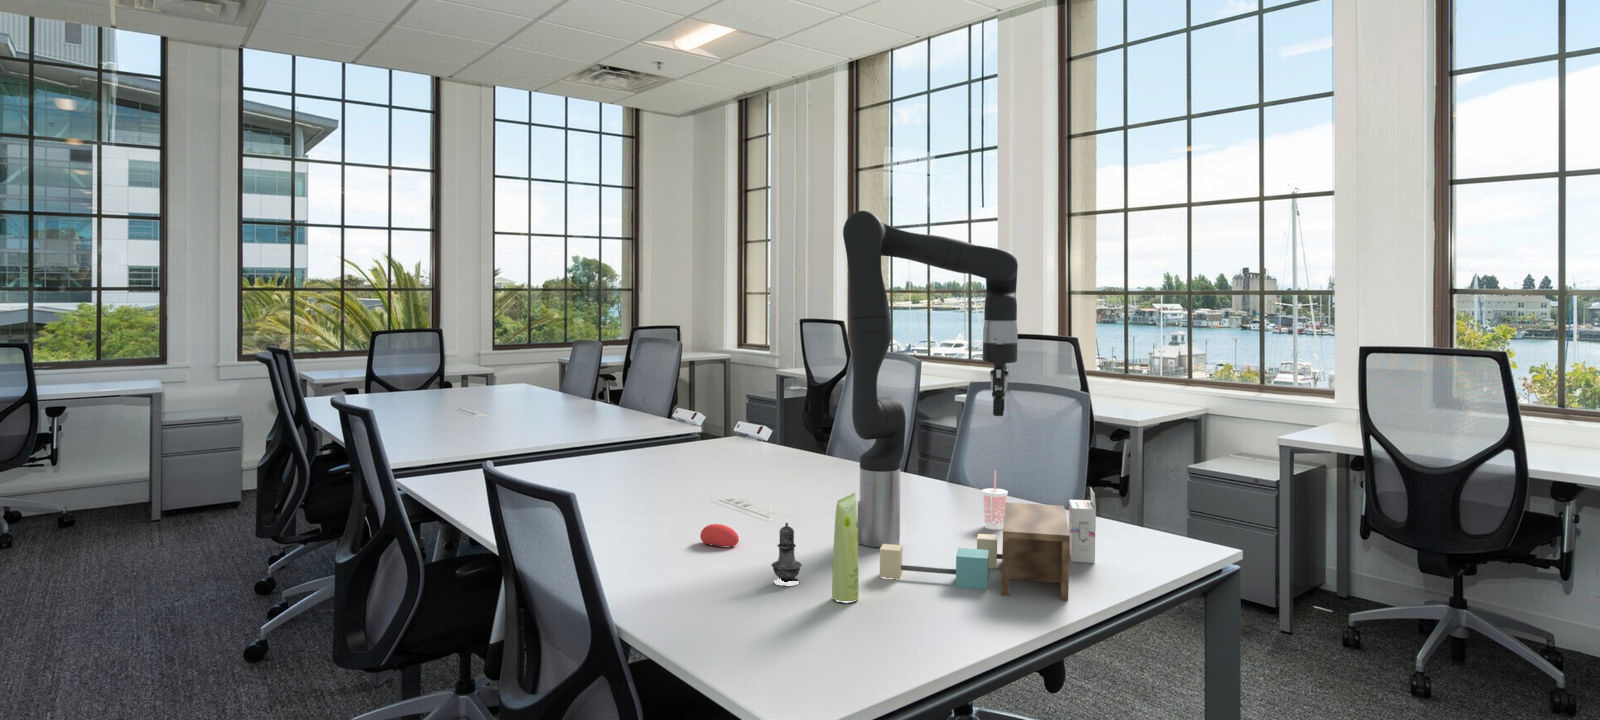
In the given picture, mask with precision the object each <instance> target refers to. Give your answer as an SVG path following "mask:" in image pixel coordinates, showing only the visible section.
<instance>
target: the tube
mask: <svg viewBox="0 0 1600 720" xmlns="http://www.w3.org/2000/svg"><path fill="white" fill-rule="evenodd" d="M836 502H837V503H836V506H835V507H836V509H835V519H834V532H833V533H834V536H833V558H832V584H831V585H832V587H831V588H832V590H831V599H832V598H834V599H836V600H839V601H854V600H857V599H858V598H859V596H860V595H859V593H860V591H859V581H860V580H859V575H860V574H859V571H860V568H859V544H858V528H857V513H858V506H857V497H856V492H855V491H854V492H852V493H850V494H849V495H846V496H844V497H842V498H840V499H838V500H837V501H836ZM858 600H859V599H858ZM858 600H857V601H858Z"/></svg>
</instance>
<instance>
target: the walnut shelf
mask: <svg viewBox="0 0 1600 720" xmlns="http://www.w3.org/2000/svg"><path fill="white" fill-rule="evenodd" d="M1065 510H1066V508H1065V505H1056V504H1054V505H1053V504H1041V503H1040V504H1039V503H1038V504H1037V503H1020V502H1007V501H1006V503H1005V514H1004V525H1003V529H1002V552H1001V553H1002V559H1001V562H1002V563H1001V564H1002V565H1001V596H1009V582H1010V581H1009V580H1016V581H1017V580H1018V581H1031V582H1040V583H1041V582H1042V583H1043V582H1044V583H1055V584H1056V583H1057V584H1059V592H1060V600H1061V601H1069V587H1070V586H1069V585H1070V584H1069V583H1070V582H1069V581H1070V580H1069V579H1070V576H1069V575H1070V554H1069V548H1070V534H1069V523H1068V521H1067V520H1068V519H1067V514H1066V511H1065Z"/></svg>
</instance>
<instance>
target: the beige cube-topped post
mask: <svg viewBox="0 0 1600 720" xmlns="http://www.w3.org/2000/svg"><path fill="white" fill-rule="evenodd" d="M976 549H982V550H989V569H997V565H998V564H997V563H998V560H1002V554H1001V553H998V534H989V533H988V534H987V533H978V534H977V537H976Z"/></svg>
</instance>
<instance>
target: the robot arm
mask: <svg viewBox="0 0 1600 720" xmlns="http://www.w3.org/2000/svg"><path fill="white" fill-rule="evenodd" d="M842 235H843V242H844V243H843V244H844V247H845V252H846V258H847V265H848V275H849V278H848V279H849V281H848V282H849V286H848V287H849V288H848V289H849V290H848V291H849V295H848V299H849V300H848V302H849V303H848V305H849V329H850V331H849V332H850V341H851V352H852V353H851V355H852V403H851V404H852V407H851V408H852V410H851V414H852V422H853V423H852V424H853V428H854V431H855V432H856V435H858V437H859V438H861V439H862V440H866V441H867V440H875V441H874V443H873V445H872V447H870V448H869V449H868V450H867V451H865V452H863V453H862V454H861V455H860V458H859V501H858V502H857V528H858V545H863V546H867V547H871V548H881V546H882V545H883V544H892V545H900V542H901V541H900V536H901V533H900V532H901V528H900V527H901V522H900V521H901V464H902V459H903V456H904V454H905V441H906V440H905V439H906V438H905V437H906V421H907V420H906V412H905V408H904V406H903V404H902V402H901V400H899V399H898V398H896V397H893V396H885V397H878V376H879V372H880V369H881V366H882V364H883V362H884V360H885V357H886V355H887V353H888V350H889V348H890V345H891V343H892V342H891V341H892V321H891V311H890V306H889V298H888V295H887V290H886V286H885V282H884V278H883V273H882V271H883V270H882V257H892V258H899V259H905V260H908V261H909V260H910V261H913V262H916V263H920V264H923V265H927V266H931V267H934V268H938V269H942V270H946V271H950V272H954V273H959V274H968V275H972V276H976V277H979V278H982V279H983V278H984V279H985V285H986V286H985V290H986V291H985V293H986V296H985V299H984V312H983V313H984V317H983V318H984V321H983V330H982V361H983V362H984V363H987V364H988V363H989V364H991V363H992V364H993V368H992V369H991V370H990V371H989V372H990V373H989V374H990V375H989V377H990V378H989V379H990V390H991V391H992V392H991V395H992V396H991V397H992V399H993V402H992V403H993V404H992V406H993V407H992V415H993V416H994V417H1003V416H1004V411H1005V402H1006V401H1005V398H1006V393H1007V390H1008V380H1009V378H1010V377H1009V373H1010V372H1009V370H1007V365H1006V364H1014V363H1016V362H1018V341H1019V340H1018V331H1019V330H1018V323H1017V322H1018V321H1017V320H1018V319H1017V318H1018V317H1017V315H1018V303H1017V285H1018V284H1017V283H1018V270H1019V269H1018V266H1019V263H1018V261H1017V258H1016V256H1015V255H1014V254H1013V253H1012V252H1010V251H1008V250H1005V249H1001V248H995V247H992V246H991V247H990V246H989V247H988V246H983V245H978V244H977V245H976V244H973V243H972V242H971V243H970V242H967V241H963V240H959V239H956V238H952V237H947V236H946V237H945V236H940V235H935V234H933V235H932V234H925V233H916V232H910V231H906V230H902V229H899V228H896V227H894V226H892V225H889V224H887V223H884V222H882V221H881V219H880V218H879V217H878V216H877V215H876V214H874V213H872V212H870V211H867V210H858V211H855V212H853V213H852V214H850V215H849V216H848V217H847V219H846V220H845V223H844V225H843V229H842Z"/></svg>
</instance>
